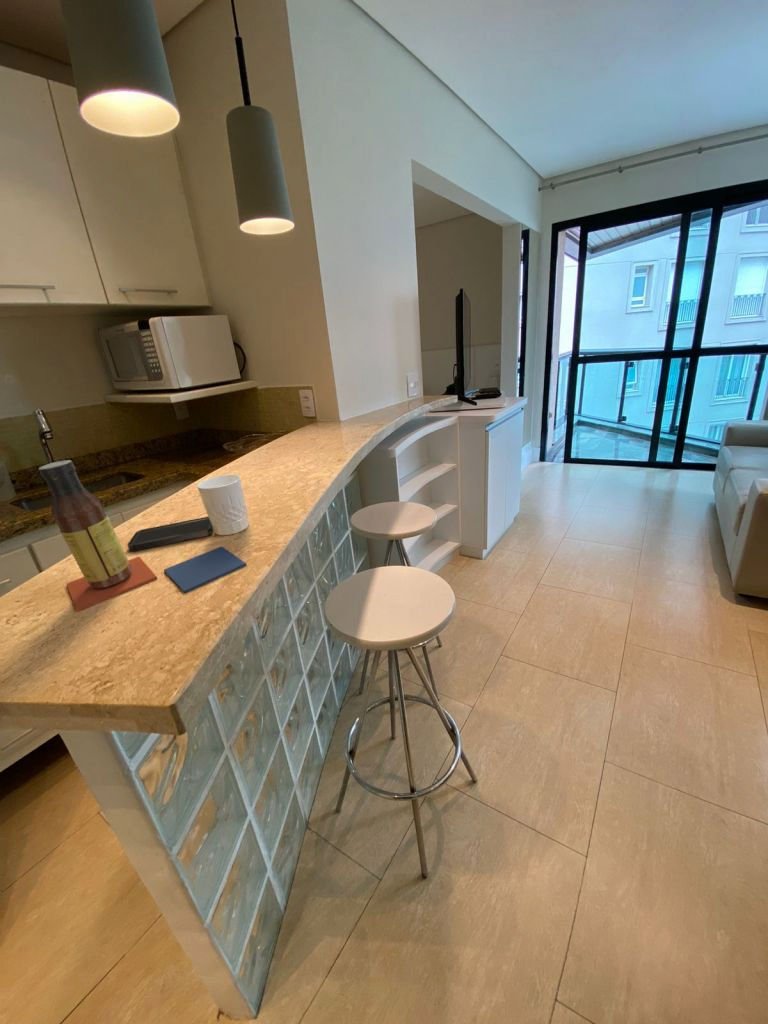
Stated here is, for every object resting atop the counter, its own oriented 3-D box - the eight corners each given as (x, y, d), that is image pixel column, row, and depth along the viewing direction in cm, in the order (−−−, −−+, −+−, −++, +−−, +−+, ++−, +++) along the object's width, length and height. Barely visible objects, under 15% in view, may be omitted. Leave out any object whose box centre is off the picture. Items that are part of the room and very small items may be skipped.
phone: (137, 530, 83) (214, 515, 86) (139, 535, 83) (215, 520, 86) (125, 547, 76) (210, 529, 79) (127, 552, 76) (211, 535, 79)
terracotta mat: (77, 611, 59) (76, 609, 59) (67, 585, 67) (66, 583, 67) (157, 578, 66) (156, 576, 66) (139, 558, 73) (139, 556, 73)
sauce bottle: (131, 565, 70) (85, 454, 62) (135, 579, 65) (86, 460, 57) (86, 581, 67) (32, 464, 59) (87, 597, 62) (28, 473, 54)
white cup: (219, 541, 76) (204, 491, 73) (206, 529, 82) (191, 483, 78) (258, 526, 81) (246, 479, 77) (243, 516, 87) (231, 472, 83)
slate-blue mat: (184, 593, 61) (183, 591, 61) (164, 571, 68) (163, 569, 68) (246, 565, 67) (246, 563, 67) (222, 547, 74) (221, 546, 74)
